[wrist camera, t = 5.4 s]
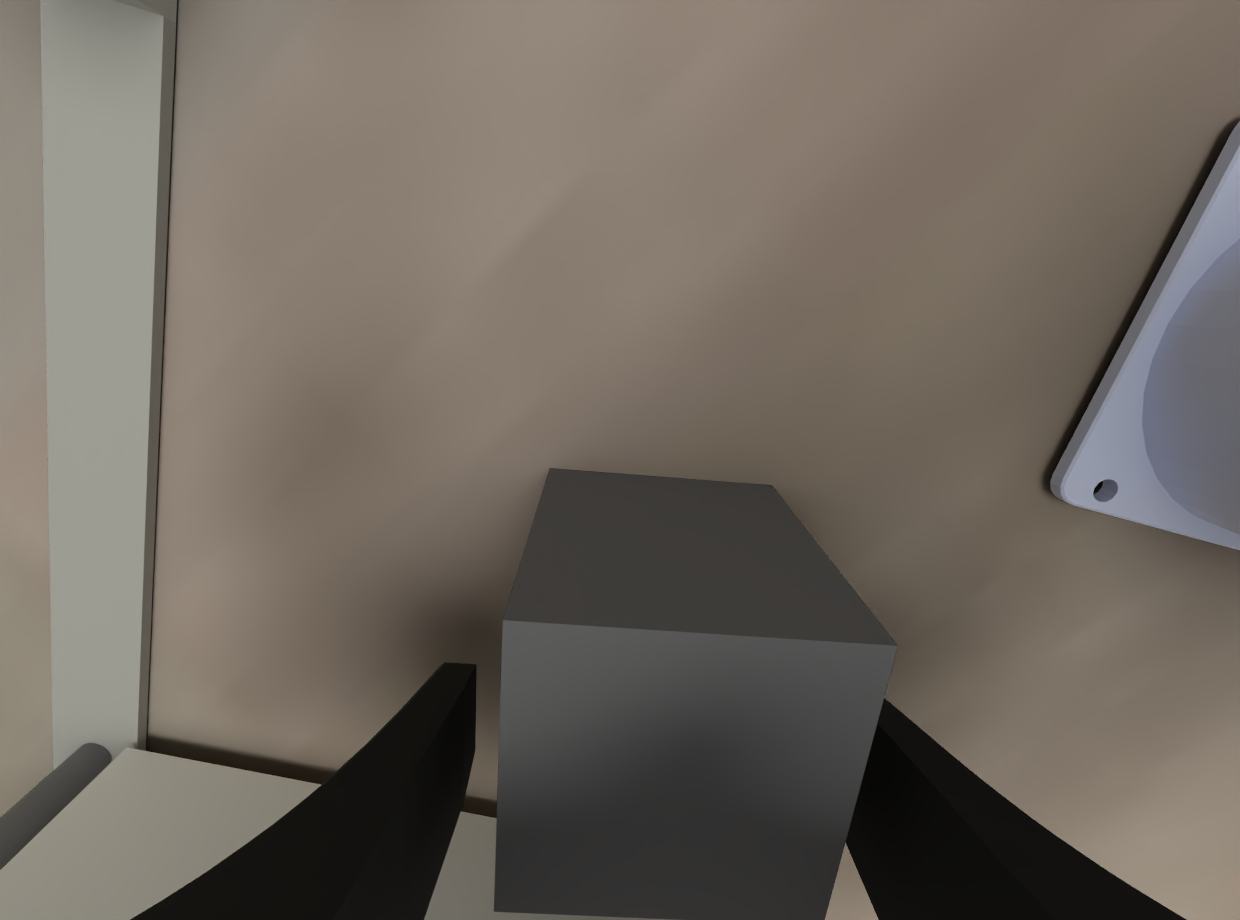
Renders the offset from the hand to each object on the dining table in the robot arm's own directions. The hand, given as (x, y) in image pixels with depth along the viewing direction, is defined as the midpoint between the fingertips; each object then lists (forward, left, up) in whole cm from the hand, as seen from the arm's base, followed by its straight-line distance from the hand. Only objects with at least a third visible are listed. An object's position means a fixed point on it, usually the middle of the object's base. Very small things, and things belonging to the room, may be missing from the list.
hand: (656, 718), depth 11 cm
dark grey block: (0, 0, -3) cm, 3 cm away
